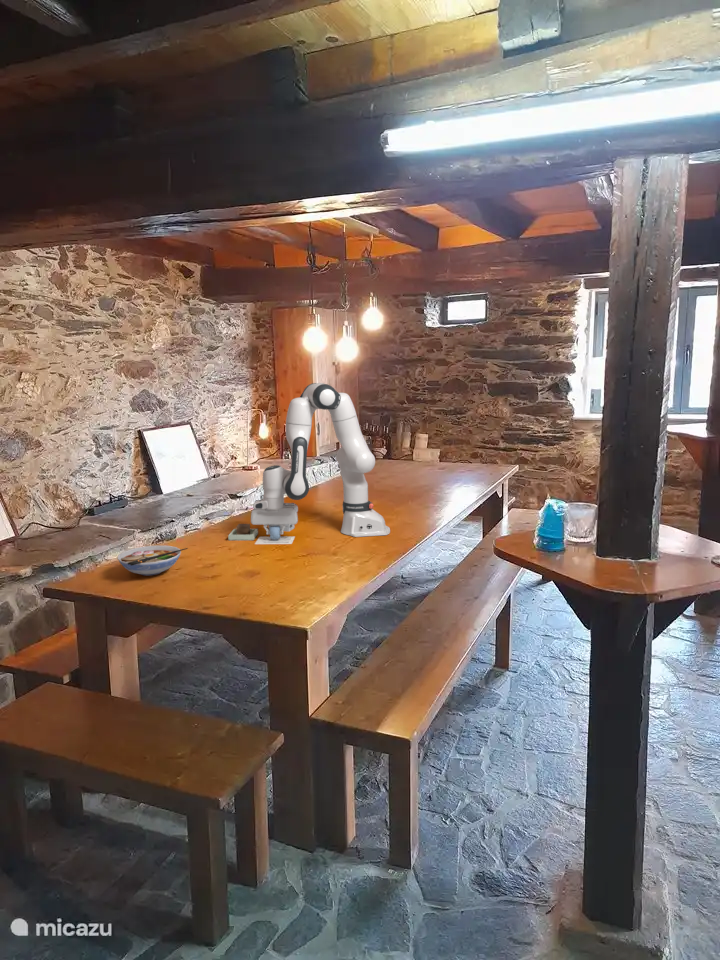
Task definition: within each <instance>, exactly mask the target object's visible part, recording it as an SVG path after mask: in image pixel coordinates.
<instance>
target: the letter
mask: <svg viewBox="0 0 720 960" xmlns="http://www.w3.org/2000/svg"><path fill="white" fill-rule="evenodd" d="M295 538H296V536H293V535H292V536H287V535H286V536H280V538H279V539H271V538H270V536H259V537H258V538H257V540H256V541H255V542H254V545H292V544H293V542H294V540H295Z"/></svg>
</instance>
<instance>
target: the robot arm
mask: <svg viewBox="0 0 720 960" xmlns="http://www.w3.org/2000/svg"><path fill="white" fill-rule="evenodd" d="M317 410H326V411H327V410H328V411H329V414H330V418H331V422H332V425H333V428H334V433H335V436H336V438H337V440H338V441H339V444H340V445H341V447H340V448H339V449H337V452H336V454H335V458H336V461H337V463H338V466H339V471H340V476H341V479H342V487H343V488H342V489H343V491H342V492H343V501H342V514H343V517H342V525H341V529H340V533H341V534H344V535H347V536H351V537H352V538H353V537H354V538H355V537H356V538H360V537H374V536H375V537H376V536H378V537H379V536H387V535H389V534H390V533H391V528H390V526H388V525H386V521H385V518H384V516H383V515H381V514H380V513H379V512H377V511H376V510H375V509H373V508H374V504H373V502H372V501H369V484H368V481H367V479H366V476H365V474H366V473H370V472H371V471H372V470H373V469H374V468H375V465H376V458H375V455H374V454H373V453H372V451H371V449H370V448H369V446H368V444H367V442H366V439H365V437H364V434H363V433H362V432H363V431H362V429H361V427H360V424H359V419H358V416H357V411H356V409H355V405H354V403H353V400H352V399H351V397H350V395H349V394H348V393H346V392H338V391H337V390H336V389H335V387H333V386H332V385H330V384H328V383H325V382H324V383H323V382H313V383H310V384H308V385H307V386H306V387H304V390H303V391H302V393H301V394H300V396H299V397H294V398H293V399H291V401H290V402H289V405H288V409H287V413H286V419H285V437H286V438H285V439H286V440H287V443H288V445H289V447H290V448H289V449H290V451H291V463H290V470H288V469H286V468H284V467H282V466H281V465H280V464H279V465H278V464H277V465H274V464H273V465H270V466H267V467H266V468H264V470H263V472H262V489H263V495H262V496H263V497H262V498H261V499H260V500H259V499H258V500H256V501H254V503H252V508H253V509H252V510H251V513H250V524H251V525H254V526H255V525H257V526H261V525H263V528H264V530H265V531H266V535H270V530H269V527H268V525H282V527H283V528H282V530H280V535H284V532H285V531H283V530H284V528H285V526H286V524H294V525H297V524H298V522H299V518H298V517H299V516H298V512H299V506H298V504H296V503H295V502H285V494H286V496H287V497H288V498H289V499H291V500H294V501H301V500H302V499H304V498H305V497H307V495H308V494H309V491H310V485H309V481H308V479H307V460H308V459H307V457H308V449H309V448H308V447H309V443H310V438H311V433H312V425H313V417H314V413H315V411H317Z"/></svg>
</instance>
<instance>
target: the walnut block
mask: <svg viewBox="0 0 720 960" xmlns="http://www.w3.org/2000/svg"><path fill="white" fill-rule="evenodd" d="M235 529H237V535H250V529H251V523H238V524H237V525H236V527H235Z"/></svg>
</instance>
